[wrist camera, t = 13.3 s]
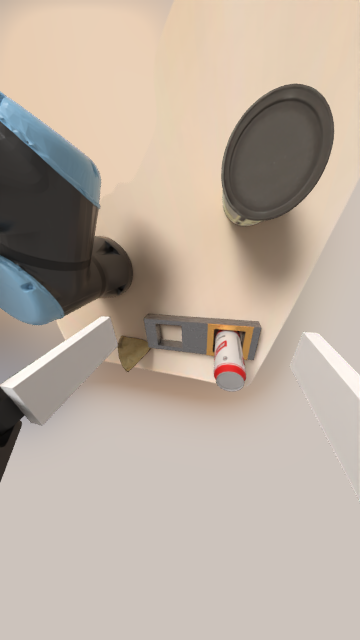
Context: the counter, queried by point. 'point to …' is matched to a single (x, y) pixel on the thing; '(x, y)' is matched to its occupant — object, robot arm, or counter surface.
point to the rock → (131, 351)
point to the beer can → (229, 361)
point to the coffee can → (276, 154)
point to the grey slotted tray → (200, 333)
